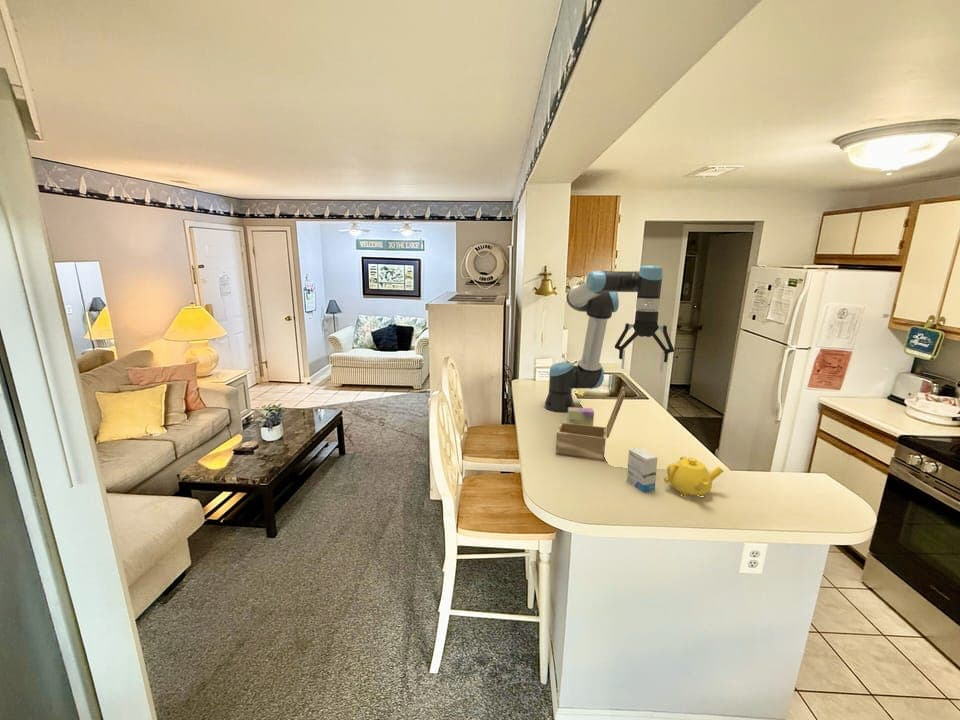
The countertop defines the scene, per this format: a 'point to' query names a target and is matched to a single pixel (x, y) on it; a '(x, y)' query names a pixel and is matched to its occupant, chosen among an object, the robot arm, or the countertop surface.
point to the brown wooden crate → (581, 441)
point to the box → (580, 416)
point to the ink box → (642, 469)
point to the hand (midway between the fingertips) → (641, 369)
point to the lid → (615, 411)
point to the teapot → (691, 477)
